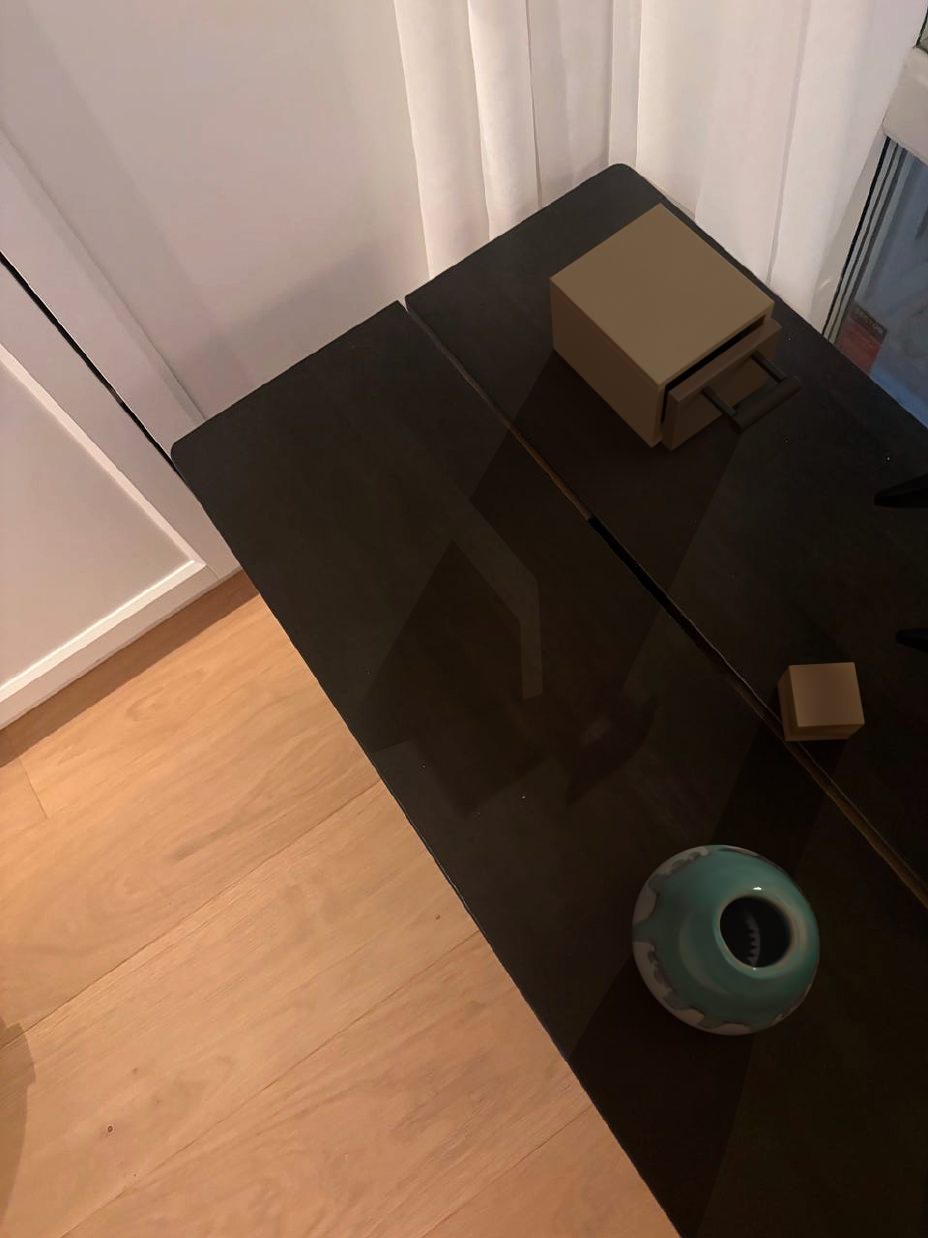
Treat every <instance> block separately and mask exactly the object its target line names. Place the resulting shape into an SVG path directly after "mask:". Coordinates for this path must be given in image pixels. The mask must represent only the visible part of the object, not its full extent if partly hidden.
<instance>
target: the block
mask: <svg viewBox="0 0 928 1238" xmlns="http://www.w3.org/2000/svg"><path fill="white" fill-rule="evenodd" d="M857 677H858V676H857V672H856V666H855V662H833V663H816V664H815V663H814V664H797V665H796V664H794V665H788V667H787V668H786V669H785V671H784V672H783V674H782V676H781V677H780V678H779V680H778V682H777V683H776V686H777V687H776V688H777V693H778V699H779V700H778V701H779V708H780V715H781V722H782V728H783V735H784V741H785V742H801V741H802V742H803V741H805V742H806V741H823V740H824V741H825V740H848V739H849V738H851V736H853V735H854V734H855V733H856V732H857V731H858V730H859V729H861V728H862V727H863V726H864V725H865V718H864V711H863V706H862V701H861V694H860V687H859V683H858V678H857Z"/></svg>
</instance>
